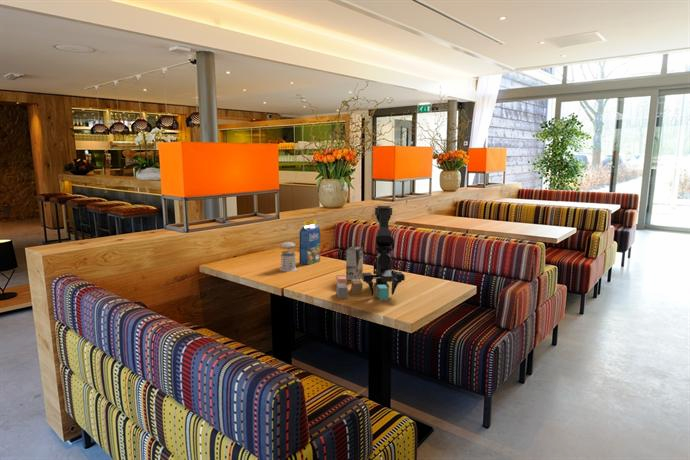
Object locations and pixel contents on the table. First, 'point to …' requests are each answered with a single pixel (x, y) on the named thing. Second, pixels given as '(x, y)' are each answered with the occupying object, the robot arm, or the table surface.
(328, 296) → the table surface
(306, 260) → the blue food package
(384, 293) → the teal brick
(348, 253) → the coffee box
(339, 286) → the charcoal brick
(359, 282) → the walnut brick
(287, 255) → the french press
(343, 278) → the terracotta brick
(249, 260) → the table surface
